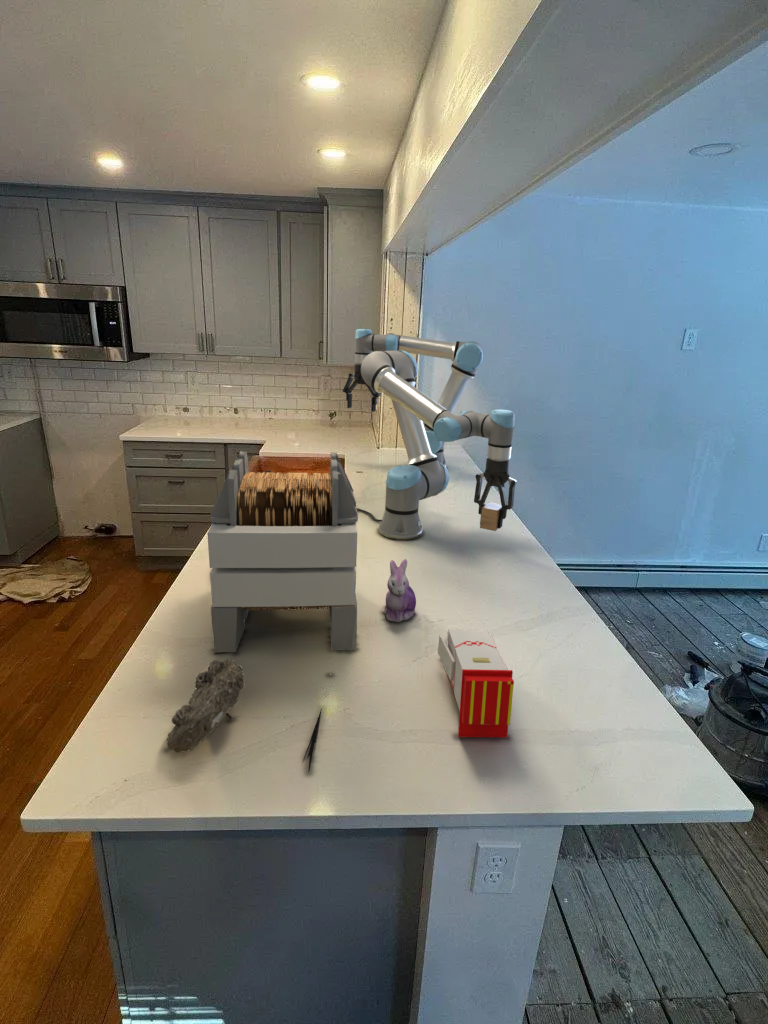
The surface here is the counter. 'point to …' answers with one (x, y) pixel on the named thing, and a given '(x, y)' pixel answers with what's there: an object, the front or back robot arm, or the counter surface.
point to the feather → (313, 740)
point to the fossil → (206, 705)
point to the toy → (478, 682)
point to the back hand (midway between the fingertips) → (361, 409)
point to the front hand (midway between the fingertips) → (491, 525)
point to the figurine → (399, 594)
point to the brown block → (490, 516)
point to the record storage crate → (283, 549)
